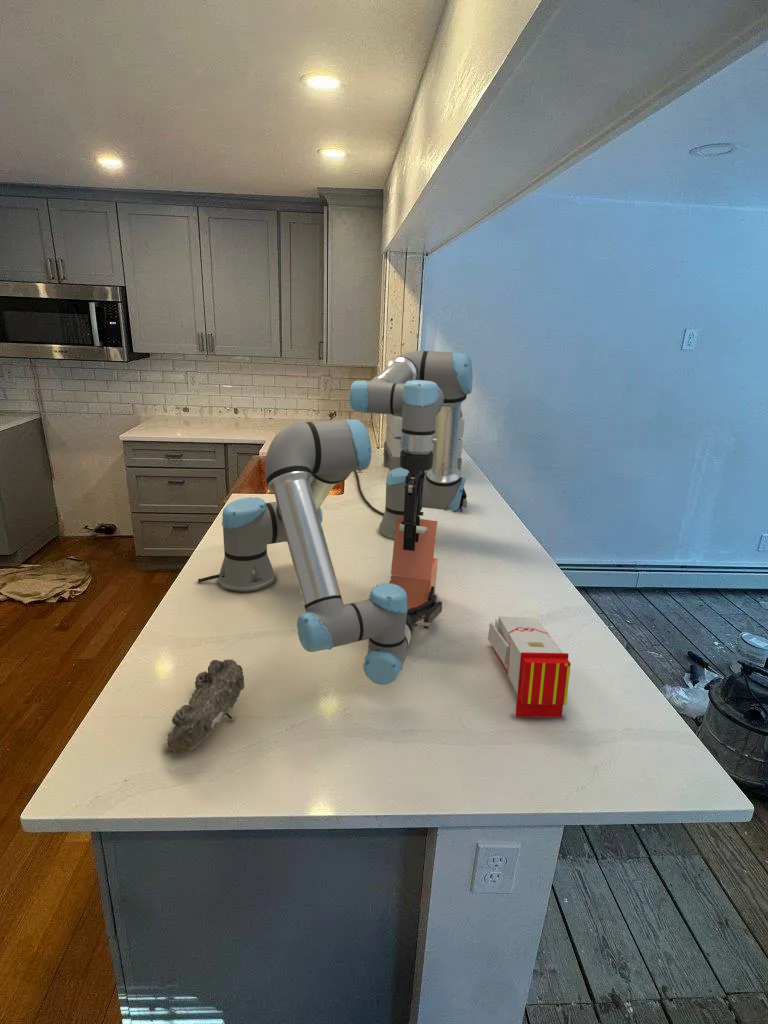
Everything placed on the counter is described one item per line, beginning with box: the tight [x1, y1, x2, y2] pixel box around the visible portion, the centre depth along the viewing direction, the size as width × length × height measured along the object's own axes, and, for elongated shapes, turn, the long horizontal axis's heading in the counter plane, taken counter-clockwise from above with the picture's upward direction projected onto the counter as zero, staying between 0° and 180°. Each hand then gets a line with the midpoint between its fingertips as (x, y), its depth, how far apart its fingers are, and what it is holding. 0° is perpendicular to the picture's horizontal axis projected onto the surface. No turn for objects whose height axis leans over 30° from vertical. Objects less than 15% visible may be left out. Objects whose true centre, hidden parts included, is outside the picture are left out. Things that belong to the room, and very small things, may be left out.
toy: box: [487, 616, 572, 718], centre depth 123 cm, size 12×13×30 cm
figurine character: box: [457, 487, 468, 512], centre depth 228 cm, size 7×8×15 cm
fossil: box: [166, 658, 245, 754], centre depth 106 cm, size 22×10×15 cm
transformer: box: [383, 411, 465, 473], centre depth 268 cm, size 34×33×41 cm
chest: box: [390, 557, 439, 619], centre depth 151 cm, size 14×10×11 cm
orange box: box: [390, 516, 438, 579], centre depth 138 cm, size 15×10×8 cm
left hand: (411, 588), depth 147 cm, fingers closed on chest, 10 cm apart
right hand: (410, 545), depth 136 cm, fingers open, 5 cm apart
